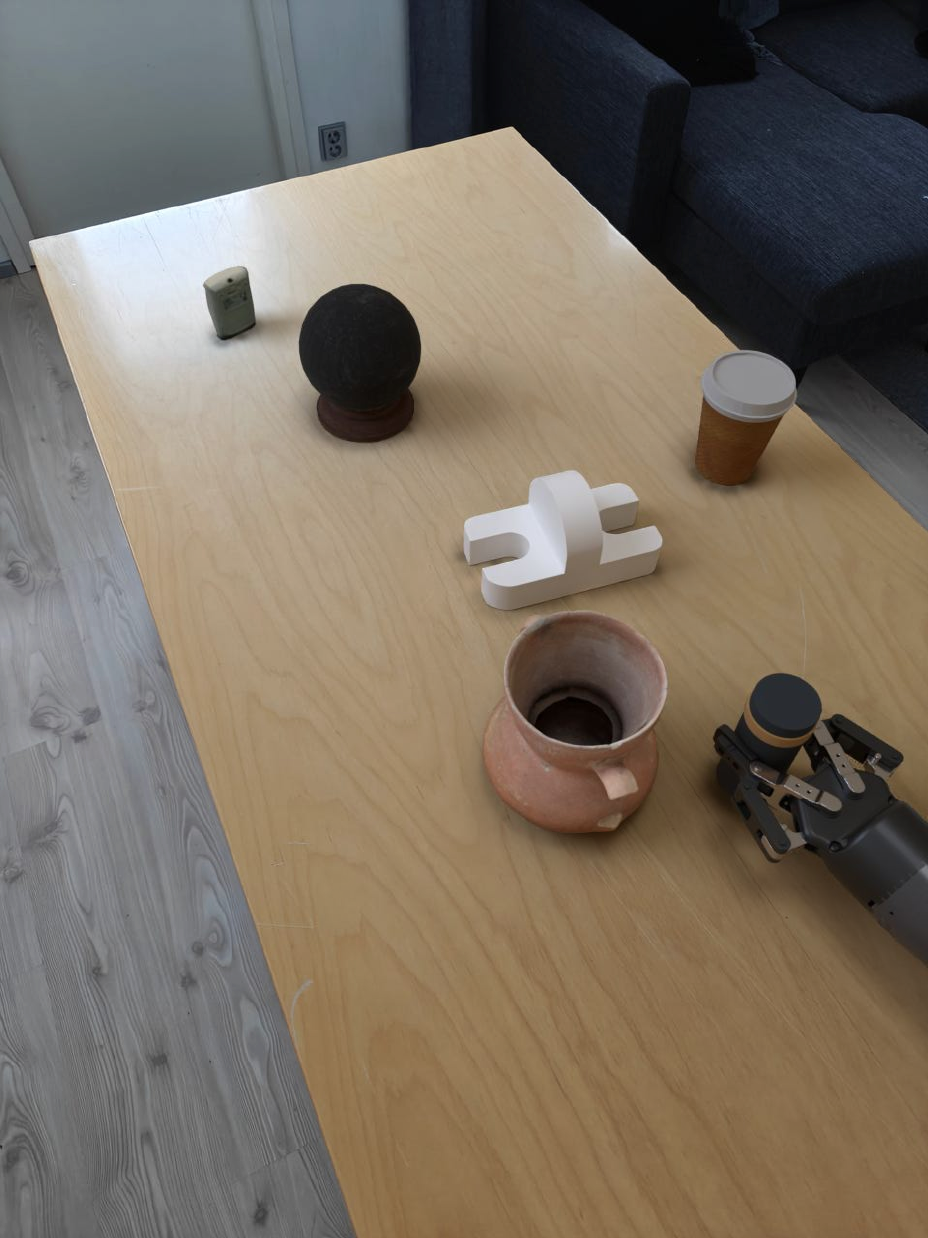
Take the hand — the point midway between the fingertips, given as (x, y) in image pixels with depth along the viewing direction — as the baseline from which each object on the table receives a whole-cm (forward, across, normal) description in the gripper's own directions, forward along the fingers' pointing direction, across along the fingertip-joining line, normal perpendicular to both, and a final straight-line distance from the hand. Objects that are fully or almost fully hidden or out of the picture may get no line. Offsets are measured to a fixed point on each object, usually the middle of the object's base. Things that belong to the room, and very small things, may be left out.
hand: (743, 714), depth 74 cm
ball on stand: (+56, +2, +7) cm, 57 cm away
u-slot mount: (+26, -2, +7) cm, 27 cm away
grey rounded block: (+78, +8, +7) cm, 79 cm away
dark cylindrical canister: (-3, 0, +6) cm, 7 cm away
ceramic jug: (+7, +12, +7) cm, 15 cm away
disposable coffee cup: (+26, -26, +7) cm, 38 cm away
